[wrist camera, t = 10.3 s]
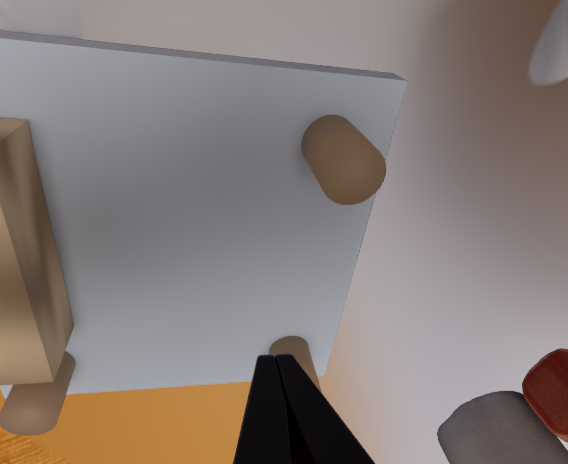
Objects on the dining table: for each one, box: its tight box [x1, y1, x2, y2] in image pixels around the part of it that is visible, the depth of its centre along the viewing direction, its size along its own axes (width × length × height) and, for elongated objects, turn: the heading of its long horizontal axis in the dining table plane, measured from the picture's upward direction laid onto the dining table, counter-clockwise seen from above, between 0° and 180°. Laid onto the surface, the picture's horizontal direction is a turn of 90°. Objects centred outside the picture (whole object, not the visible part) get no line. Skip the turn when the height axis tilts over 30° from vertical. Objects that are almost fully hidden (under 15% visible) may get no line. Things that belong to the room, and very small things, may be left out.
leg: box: [0, 118, 74, 385], centre depth 16 cm, size 11×2×4 cm, turn 173°
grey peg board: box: [0, 31, 408, 435], centre depth 19 cm, size 20×20×5 cm
